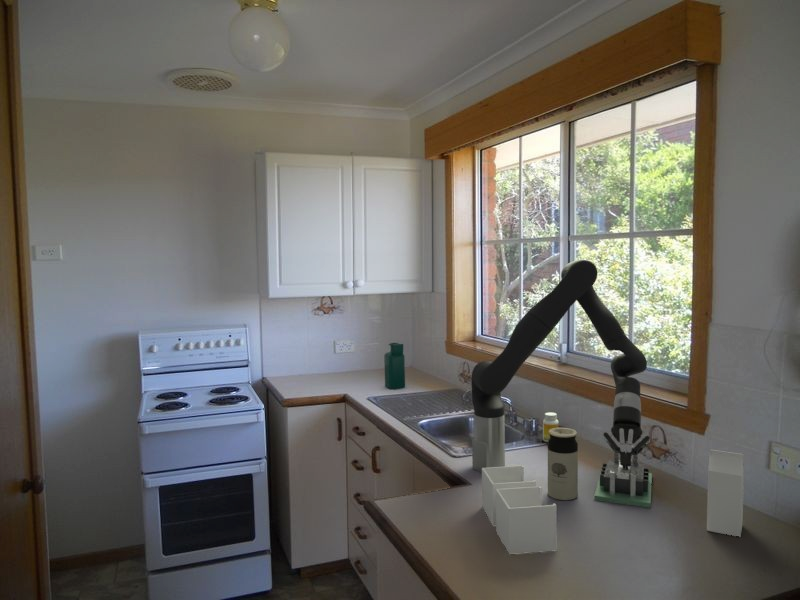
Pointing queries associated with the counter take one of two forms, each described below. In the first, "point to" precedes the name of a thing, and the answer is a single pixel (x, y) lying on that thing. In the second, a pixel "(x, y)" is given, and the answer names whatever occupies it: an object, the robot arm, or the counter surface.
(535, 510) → the white divided organizer
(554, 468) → the travel mug
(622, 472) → the retention strap
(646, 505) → the circuit board
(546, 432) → the supplement bottle
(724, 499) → the milk carton
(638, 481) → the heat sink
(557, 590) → the counter surface
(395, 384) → the green bottle
